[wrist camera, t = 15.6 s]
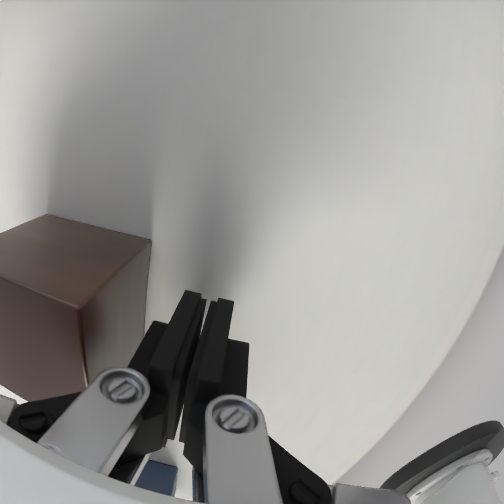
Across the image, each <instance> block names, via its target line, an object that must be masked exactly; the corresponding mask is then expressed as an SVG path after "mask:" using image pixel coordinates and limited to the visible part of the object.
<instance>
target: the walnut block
mask: <svg viewBox="0 0 504 504" xmlns="http://www.w3.org/2000/svg"><path fill="white" fill-rule="evenodd" d="M150 252H151V240H148V239H144V238H140V237H136V236H132V235H128V234H124V233H120V232H116V231H111V230H107V229H103V228H99V227H95V226H91V225H87V224H83V223H79V222H75V221H71V220H67V219H63V218H59V217H55V216H51V215H47V214H46V215H43V216H41V217H38V218H36V219H33V220H31V221H28V222H26V223H23V224H21V225H19V226H16V227H14V228H12V229H9V230H7V231H5V232H3V233H0V385H2V386H4V387H5V388H7V389H8V390H10V391H11V392H13V393H15V394H16V395H18V396H20V397H21V398H23V399H25V400H26V401H28V402H31V401H37V400H42V399H48V398H53V397H58V396H63V395H67V394H72V393H77V392H81V391H83V390H84V389H85V388H86V387H87V386H88V385H89V384H90V382H91V381H92V380H93V379H94V378H95V377H96V376H97V375H98V374H99V373H100V372H102V371H103V370H105V369H108V368H110V367H118V366H120V367H127V366H128V365H129V363H130V361H131V359H132V357H133V356H134V354H135V352H136V350H137V348H138V347H139V345H140V343H141V341H142V340H143V336H144V318H145V303H146V291H147V280H148V270H149V260H150Z"/></svg>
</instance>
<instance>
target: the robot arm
mask: <svg viewBox="0 0 504 504" xmlns="http://www.w3.org/2000/svg"><path fill="white" fill-rule="evenodd" d="M206 301H207V299H203V298H201V294H200V293H196V292H192V291H188V290H185V292H184V294H183V296H182V298H181V300H180V302H179V304H178V306H177V308H176V310H175V312H174V314H173V316H172V318H171V320H170V322H169V324H166V323H162V322H159V321H153V322H152V324H151V326H150V327H149V329H148V331H147V333H146V334H145V336H144V338H143V340H142V341H141V343H140V345H139V347H138V348H137V350H136V352H135V354H134V356H133V357H132V359H131V361H130V363H129V365H128V366H127V367H120V366H118V367H110V368H108V369H105V370H103V371H102V372H100V373H99V374H98V375H97V376H96V377H95V378H94V379H93V380H92V381H91V382H90V384H89V385H88V386H87V387H86V388H85V389H84V390H83V391H81V392H77V393H72V394H67V395H63V396H58V397H53V398H48V399H42V400H37V401H31V402H27V403H24V404H21V405H19V404H17V402H16V400H14V399H12V398H9V397H6V396H3V395H0V504H502V503H501V501H500V499H499V497H498V494H497V492H496V490H495V488H494V486H493V485H494V484H495V481H494V480H496V479H498V477H499V472H498V471H495V472H492V473H490V471H489V469H488V467H487V466H488V465H489V463H490V462H491V460H492V457H493V456H492V453H491V452H490V450H489V449H481V450H478V451H475V452H472V453H470V454H468V455H466V456H464V457H461V458H460V459H458V460H456V461H454V462H452V463H450V464H448V465H447V466H445V467H443V468H442V469H440V470H438V471H437V472H435V473H433V474H432V475H430V476H429V477H427V478H426V479H424V480H423V481H421V482H420V483H418V484H417V485H416V486H415V487H413V488H412V489H411V490H410V491H409V492H408V493H407V494H406V495H405V494H404V493H402V492H401V491H396V490H389V489H377V488H368V487H359V486H351V485H346V484H339V483H336V484H335V485H334V486H333V485H327V483H326V482H325V481H324V480H322V479H321V478H320V477H319V476H318V475H316V474H315V473H314V472H312V471H311V470H310V469H308V468H307V467H306V466H305V465H303V464H302V463H301V462H300V461H298V460H297V459H296V458H295V457H293V456H292V455H291V454H290V453H288V452H287V451H286V450H285V449H284V448H282V447H281V446H280V445H279V444H278V443H277V442H275V441H274V440H273V439H272V438H271V437H270V436H268V433H267V428H266V423H265V418H264V415H263V413H262V410H261V409H260V408H259V407H258V406H257V404H255V403H254V402H252V401H251V400H249V399H247V398H246V391H247V374H248V356H249V343H246V342H241V341H236V340H232V339H228V335H229V329H230V323H231V317H232V311H233V305H234V301H230V300H226V299H221V298H218V301H217V302H216V301H211V303H210V306H209V309H208V312H207V316H206V319H205V322H204V325H203V329H202V332H201V327H202V322H203V317H204V312H205V306H206ZM200 333H201V335H200ZM183 405H184V408H183ZM182 409H183V415H182V422H181V430H180V437H179V442H183V443H185V445H184V451H183V455H184V456H185V457H186V458H187V460H188V461H189V462H190V463H191V464H192V465H193V469H192V483H193V501H189V500H185V499H180V498H176V497H172V496H168V495H164V494H160V493H156V492H153V491H149V490H146V489H142V488H139V487H136V486H134V485H135V483H136V481H137V479H138V477H139V476H140V474H141V472H142V470H143V468H144V466H145V465H146V463H147V461H148V459H149V456H150V453H151V452H154V451H157V450H159V449H161V448H162V447H165V446H166V442H167V439H171V440H174V438H175V434H176V431H177V427H178V423H179V420H180V416H181V412H182Z"/></svg>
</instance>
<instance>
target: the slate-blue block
mask: <svg viewBox="0 0 504 504" xmlns="http://www.w3.org/2000/svg"><path fill="white" fill-rule="evenodd" d="M177 470H178V468H177V467H173V466H169V465H165V464H161V463H158V462H154V461H151V460H148V461H147V463H146V465H145V466H144V468H143V470H142V472H141V474H140V476H139V477H138V479H137V481H136V483H135V485H134V486H136V487H139V488H142V489H146V490H149V491H153V492H156V493H160V494H164V495H168V496H172V497H174V496H175V490H176V480H177Z"/></svg>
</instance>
